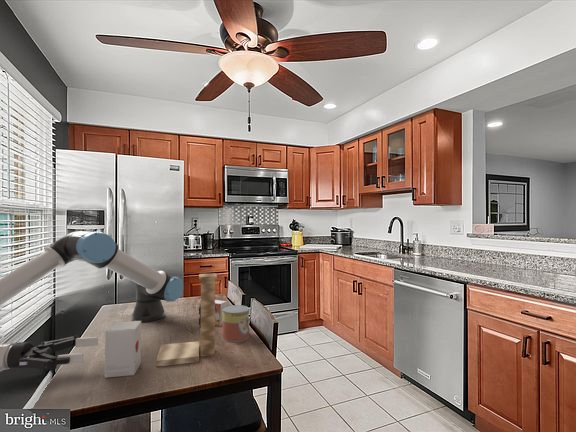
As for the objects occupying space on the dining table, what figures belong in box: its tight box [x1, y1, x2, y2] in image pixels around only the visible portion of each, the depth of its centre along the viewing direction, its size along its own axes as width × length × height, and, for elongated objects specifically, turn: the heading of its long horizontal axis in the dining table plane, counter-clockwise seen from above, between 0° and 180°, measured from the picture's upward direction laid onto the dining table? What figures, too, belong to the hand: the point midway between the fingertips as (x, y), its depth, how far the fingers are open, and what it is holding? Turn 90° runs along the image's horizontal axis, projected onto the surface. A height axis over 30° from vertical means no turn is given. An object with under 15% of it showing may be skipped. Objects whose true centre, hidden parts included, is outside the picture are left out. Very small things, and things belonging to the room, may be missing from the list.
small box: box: [215, 299, 228, 327], centre depth 151 cm, size 8×6×10 cm
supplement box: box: [104, 320, 142, 378], centre depth 104 cm, size 9×9×15 cm
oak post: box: [198, 272, 218, 357], centre depth 118 cm, size 6×6×29 cm
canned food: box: [221, 304, 250, 343], centre depth 134 cm, size 11×11×12 cm
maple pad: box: [155, 340, 200, 368], centre depth 116 cm, size 14×14×2 cm
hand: (90, 348), depth 102 cm, fingers open, 13 cm apart
